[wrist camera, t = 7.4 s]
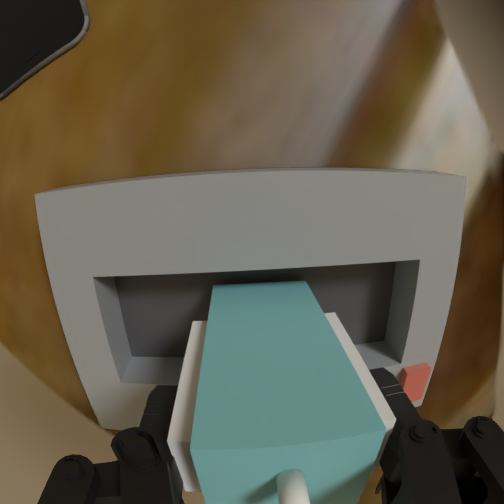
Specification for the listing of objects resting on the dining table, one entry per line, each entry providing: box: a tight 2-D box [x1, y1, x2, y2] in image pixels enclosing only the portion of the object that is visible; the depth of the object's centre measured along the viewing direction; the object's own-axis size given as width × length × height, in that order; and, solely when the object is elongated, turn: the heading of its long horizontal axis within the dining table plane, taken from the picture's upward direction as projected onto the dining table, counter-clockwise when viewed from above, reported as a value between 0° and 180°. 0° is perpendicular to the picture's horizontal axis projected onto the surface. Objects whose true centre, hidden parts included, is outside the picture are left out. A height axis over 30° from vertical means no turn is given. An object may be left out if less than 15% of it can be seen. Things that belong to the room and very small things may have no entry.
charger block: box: [190, 280, 386, 504], centre depth 11 cm, size 4×4×11 cm
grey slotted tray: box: [35, 167, 466, 430], centre depth 15 cm, size 14×20×3 cm
